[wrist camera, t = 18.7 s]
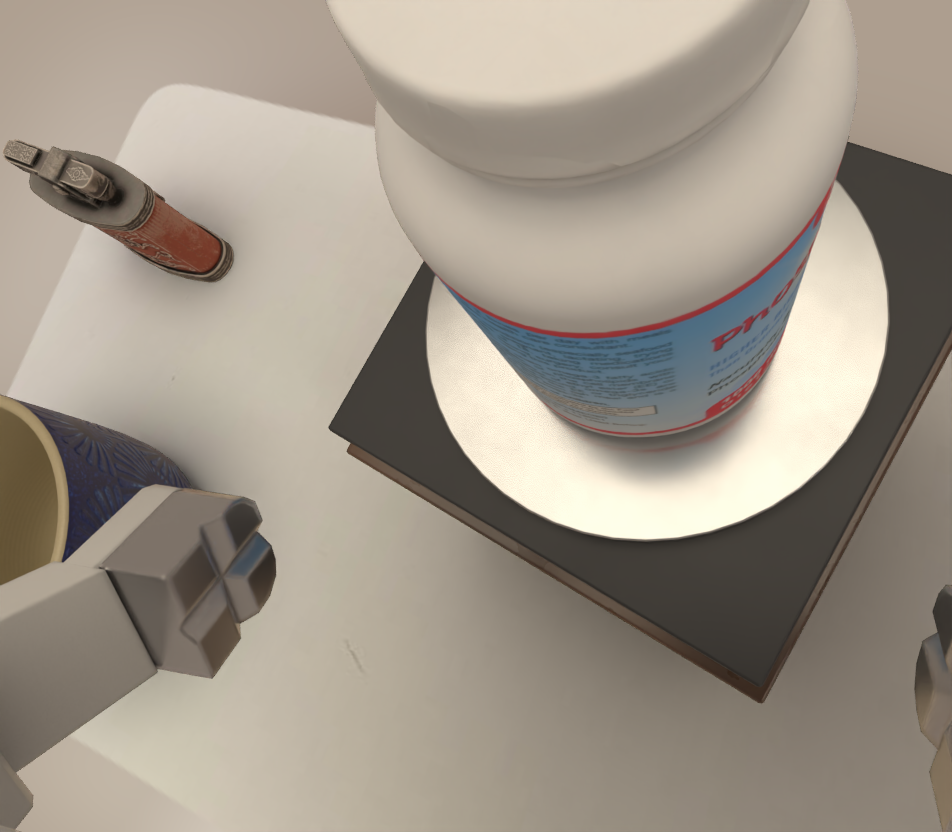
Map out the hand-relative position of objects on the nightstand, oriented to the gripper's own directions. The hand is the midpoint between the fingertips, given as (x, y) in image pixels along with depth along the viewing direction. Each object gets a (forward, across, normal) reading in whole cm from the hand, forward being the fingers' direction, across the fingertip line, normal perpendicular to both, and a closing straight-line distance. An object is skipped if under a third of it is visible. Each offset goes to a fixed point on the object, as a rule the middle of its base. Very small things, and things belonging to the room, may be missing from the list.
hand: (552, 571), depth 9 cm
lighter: (+29, +30, +7) cm, 42 cm away
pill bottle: (+10, 0, +1) cm, 10 cm away
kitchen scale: (+12, 0, +3) cm, 12 cm away
